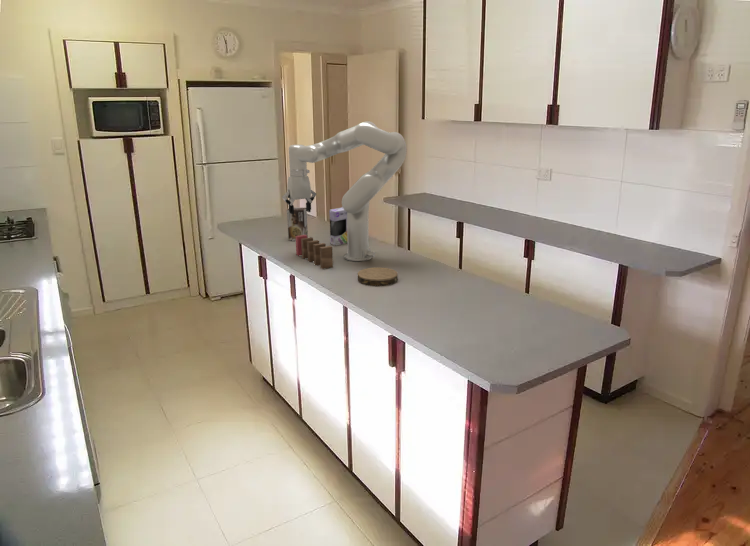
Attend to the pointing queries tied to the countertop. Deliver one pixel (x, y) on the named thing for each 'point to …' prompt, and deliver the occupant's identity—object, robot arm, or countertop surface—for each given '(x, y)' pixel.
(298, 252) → the maroon domino
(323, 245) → the domino
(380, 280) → the wooden log slice
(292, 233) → the coffee box
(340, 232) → the cake pan box
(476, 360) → the countertop surface
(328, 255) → the domino
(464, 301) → the countertop surface
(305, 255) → the domino
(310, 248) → the domino
